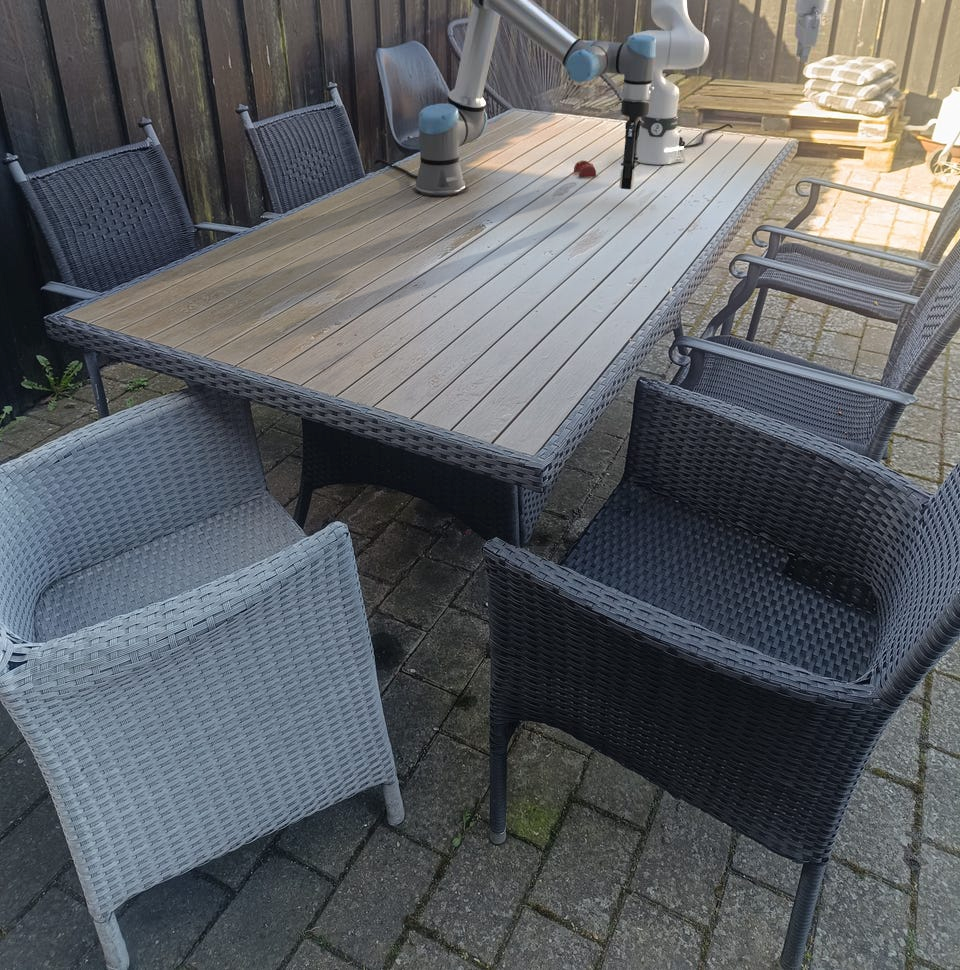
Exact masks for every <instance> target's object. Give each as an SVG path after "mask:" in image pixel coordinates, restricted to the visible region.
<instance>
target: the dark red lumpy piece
mask: <svg viewBox="0 0 960 970" xmlns="http://www.w3.org/2000/svg"><path fill="white" fill-rule="evenodd" d="M573 173H574V174H575V173H578V177H579V178H589V177H590V178H591V177H596V176H597V170H596V167H595V165H594V164H593V163H591V162H588V160H579V161H578V162H576V163H575V164H574V167H573Z"/></svg>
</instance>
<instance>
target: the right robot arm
mask: <svg viewBox="0 0 960 970" xmlns="http://www.w3.org/2000/svg"><path fill="white" fill-rule="evenodd" d="M830 2H831V1H830V0H796V3H795V9H794V12H795V13H796V18H795V27H794V37H795V39H796V40H797V46H796V47H797V48H796V53H795V56H796V57H797V58H800V62H801V63H808V61H809V56H810V54H811V51H812V48H815V47H816V46H817V44H818V40H819V36H820V35H819V34H820V29H821V25H822V24H821V22H822V17H823V15H826V14H828V11H829V5H830ZM650 16H651V19H652V21H653V22H654V25H656V26H657V27H658V28H660V30H658V29H657V30H653V29H652V30H649V29H647V30H643V31H639V32H634V33H633V34H632V35H649V36H652V37H654V38H655V40H656V46H655V60H654V68H653V75H652V83H651V86H650V87H653V91H650V92H651V93H650V98H649V99H648V100H649V102H650V103H649V112H648V115H647V116H644V117H640V121H641V127H640V132H639V137H638V144H637V155H636V157H638V160H634V161H635V162H636V163H641V164H646V165H654V166H655V165H658V166H659V165H662V166H663V165H670V164H674V163H683V162H684V157H683V155H682V153H681V150H684V149H685V148H693V147H696V146H700V145H702V144H703V143H704V141H705V137H706V135H707V134H708V133H712V132H716V131H720V130H723V129H725V128H726V127H729V128H730V129H733V128H734V127H733V125H732V124H731V123H726V124H724V125H721V126H719V127H716V128H712V129H707V130H705V131H704V132H703V133H702V136H701V141H699V142H697V143H693V144H688V145H686V141H685V140H683V137H682V136H680V134H679V132H678V131H677V127H678V122H679V117H678V109H679V101H680V89H679V87H678V86H677V85H676V84H675V83H673V82H672V81H671V80H669V79H667V78H665V77H664V75H663V71H664V70H682V71H683V70H691V69H697V68H699V67H702V66H703V65H704V63H705V62H706V61H707V59H708V56H709V52H710V43H709V40H708V37H707V36H706V35H705V33H703V32H702V31H700V30H699V29H698V28H697V27H696V26H695V24H693V22H692V20H691V18H690V16H689V12H688V0H651V1H650ZM661 29H662V30H661Z"/></svg>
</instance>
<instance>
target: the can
mask: <svg viewBox="0 0 960 970" xmlns="http://www.w3.org/2000/svg"><path fill="white" fill-rule="evenodd" d="M622 174H623V168H621V169H620V175H619V185H618V187H619V188H620V189H621V184H622ZM635 178H636V169H635V168H634V169H633V173H632V182H631V189H630V190H632V189H634V187H635Z"/></svg>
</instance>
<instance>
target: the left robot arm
mask: <svg viewBox="0 0 960 970" xmlns="http://www.w3.org/2000/svg"><path fill="white" fill-rule="evenodd" d="M470 1H471V6H470V12H469V16H468V22H467V26H466V27H467V28H466V31H465V37H464V42H463V46H462V50H461V51H462V52H461V56H460V61H459V66H458V70H457V76H456V81H455V86H454V88H453V89H452V90H451V91H449V92H448V94H447V98H446V103H435V104H429V105H428V106H425V107H424V108H422V109H421V110H420V112H419V113H418V122H417V123H418V126H417V127H418V136H419V138H418V139H419V157H420V158H419V159H420V161H419V162H420V164H419V168H418V172H417V175H416V174H413V173H411V172H410V171H408V170H406V169H404V168H403V167H400V166H397V165H396V164H392V163H390V162H389V161H386V160H385V159H383V158H377V159H376V160H375V161H374V163H373V164H375V165H377V164H378V163H382V164H384V165H385V166H388V167H390V168H392V169H395V170H397V171H399V172H401V173H403V174H405V175H407V176H408V177H410V178H413V179H416V180H415V185H414V186H415V192H417V193H418V194H420V195H424V196H430V197H450V196H455V195H459V194H461V193H463V192H464V191H466V181H465V179H464V176H463V172H462V169H461V165H460V147H463V146H465V145H467V144H470V143H473V142H475V141H476V140H478V139H479V138H481V136H482V135H483V134H484V132H485V131H486V129H487V125H488V114H487V112H486V104H487V102H486V100H485V98H484V97H483V95H484V90H485V86H486V82H487V78H488V73H489V68H490V64H491V60H492V56H493V51H494V47H495V42H496V38H497V33H498V29H499V24H500V20H501V17H502V18H503V19H504V21H507V22H508V23H509V24H510V25H512V26H513V27H514V28H515V29H517V30H518V31H519V32H520V33H522V34H523V35H524V36H525V37H527V38H528V39H530V40H531V42H533V43H535V44H536V45H537V46H538V47H540V48H541V49H542V50H543V51H544V52H545V53H547V54H549V55H550V56H551V57H552V58H553V59H555V60H556V61H557V62H558V63H560V64H561V65H562V66H563V67H565V68H566V72H567V75H568V77H569V79H571V80H572V81H574V82H575V83H586V82H589V81H592V80H594V79H595V78H597V77H600V76H602V75H604V74H617V75H623V83H622V84H623V85H622V95H621V97H622V98H623V99H622V100H621V107H620V108H621V109H620V113H621V116H624V117H628V119H627V120H626V122H625V127H624V128H625V134H624V139H625V140H624V149H623V161H622V162H621V163H620V166H622V169H623V174H622V184H621V188H620V189H621V190H632V189H631V182H632V173H633V169H634V170H635V167H636V161H635V160H638V157H636V155H637V144H638V137H639V132H640V128H641V117H644V116H647V115H648V112H649V103H650V102H649V100H648V99H649V98H650V93H651V92H650V91H653V87H650V86H651V83H652V75H653V68H654V60H655V46H656V40H655V38H654V37H652V36H649V35H633V34H632V35H630V36H628V38H627V41H626V42H617V41H607V40H606V41H605V40H600V39H598V40H587V42H585V41H584V40H583V39H581V37H580V36H578V35H577V34H575V33H574V32H573V31H572V30H570V29H569V28H568V27H567V26H565V25H564V24H563V23H562V22H560V21H559V20H557V19H556V17H554V16H553V15H551V14H550V13H549V12H547V11H546V10H545V9H544V8H542V7H541V6H540V4H538V3H536V2H535V1H533V0H470ZM392 165H394V166H392Z"/></svg>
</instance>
